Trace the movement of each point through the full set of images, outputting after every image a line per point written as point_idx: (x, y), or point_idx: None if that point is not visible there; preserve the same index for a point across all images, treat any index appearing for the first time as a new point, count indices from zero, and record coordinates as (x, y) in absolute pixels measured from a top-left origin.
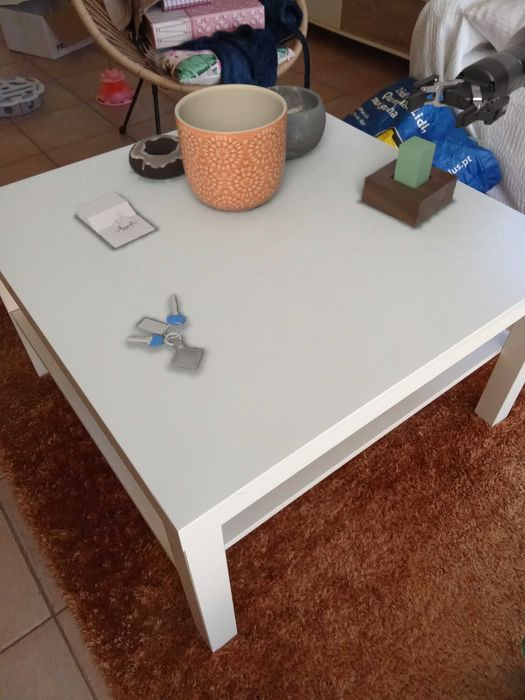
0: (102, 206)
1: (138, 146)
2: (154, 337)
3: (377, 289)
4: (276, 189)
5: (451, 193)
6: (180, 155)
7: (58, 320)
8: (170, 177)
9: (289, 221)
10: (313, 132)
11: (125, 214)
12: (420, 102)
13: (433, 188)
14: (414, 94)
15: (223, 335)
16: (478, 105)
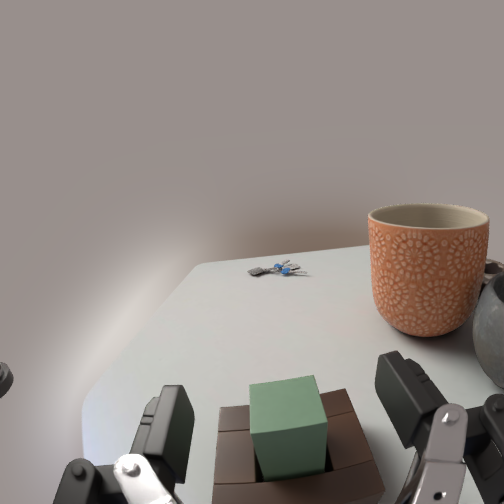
0: None
1: (486, 259)
2: (280, 265)
3: (202, 348)
4: (387, 316)
5: None
6: None
7: (325, 252)
8: None
9: (352, 340)
10: (487, 342)
11: None
12: (399, 415)
13: (226, 449)
14: (432, 386)
15: (258, 283)
16: (131, 462)
